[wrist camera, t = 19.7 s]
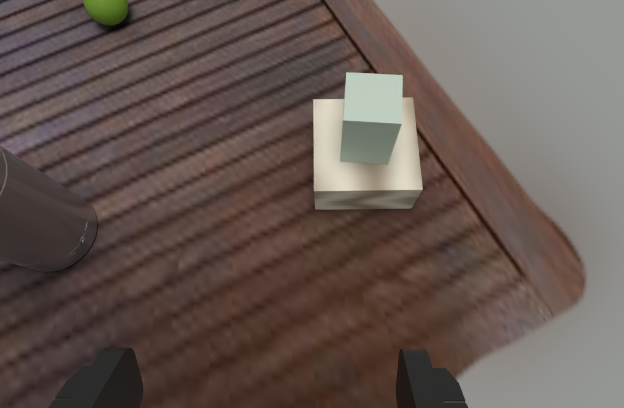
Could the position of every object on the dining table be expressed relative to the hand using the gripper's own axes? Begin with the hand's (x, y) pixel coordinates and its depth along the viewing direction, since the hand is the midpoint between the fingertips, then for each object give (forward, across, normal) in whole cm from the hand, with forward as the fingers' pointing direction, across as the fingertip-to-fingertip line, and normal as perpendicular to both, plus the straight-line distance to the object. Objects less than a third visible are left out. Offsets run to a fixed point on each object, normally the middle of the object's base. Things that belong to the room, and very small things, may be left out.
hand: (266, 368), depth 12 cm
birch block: (+37, -6, +7) cm, 38 cm away
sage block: (+33, -6, +2) cm, 34 cm away
